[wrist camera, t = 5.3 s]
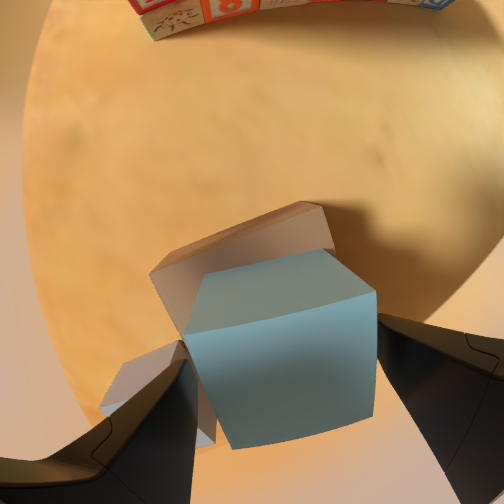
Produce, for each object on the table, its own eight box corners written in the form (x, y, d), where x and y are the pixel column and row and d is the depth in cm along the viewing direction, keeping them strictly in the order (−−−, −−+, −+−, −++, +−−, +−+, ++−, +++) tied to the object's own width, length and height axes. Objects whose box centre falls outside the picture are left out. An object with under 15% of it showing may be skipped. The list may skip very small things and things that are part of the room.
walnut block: (298, 200, 14) (321, 206, 10) (335, 316, 15) (362, 352, 12) (171, 250, 14) (148, 274, 10) (224, 357, 16) (221, 402, 12)
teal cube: (322, 248, 10) (376, 291, 6) (333, 346, 11) (372, 416, 7) (204, 274, 10) (183, 335, 6) (233, 369, 11) (232, 449, 7)
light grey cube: (178, 339, 15) (161, 389, 11) (218, 391, 16) (215, 443, 12) (123, 362, 15) (98, 408, 11) (164, 409, 16) (151, 457, 12)
